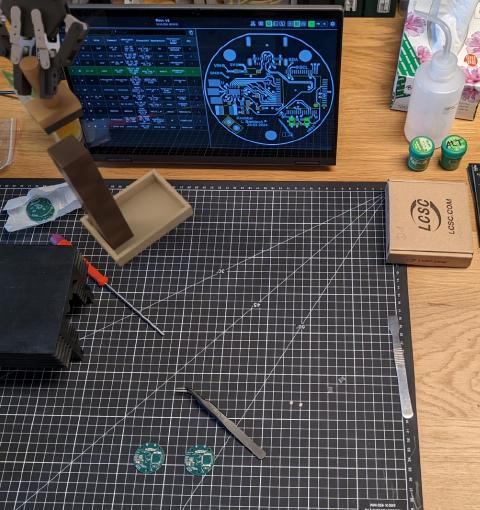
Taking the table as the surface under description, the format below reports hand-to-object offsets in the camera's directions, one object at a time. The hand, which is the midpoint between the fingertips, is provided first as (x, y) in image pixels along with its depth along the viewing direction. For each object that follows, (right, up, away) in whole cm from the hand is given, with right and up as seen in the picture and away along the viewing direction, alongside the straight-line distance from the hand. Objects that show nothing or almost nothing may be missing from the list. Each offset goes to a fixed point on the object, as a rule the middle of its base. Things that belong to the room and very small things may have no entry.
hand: (35, 96), depth 80 cm
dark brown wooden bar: (-2, -17, +35) cm, 39 cm away
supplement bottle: (-15, +3, +46) cm, 49 cm away
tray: (+2, -14, +38) cm, 40 cm away
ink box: (-21, +9, +49) cm, 54 cm away
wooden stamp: (0, -1, +7) cm, 7 cm away
